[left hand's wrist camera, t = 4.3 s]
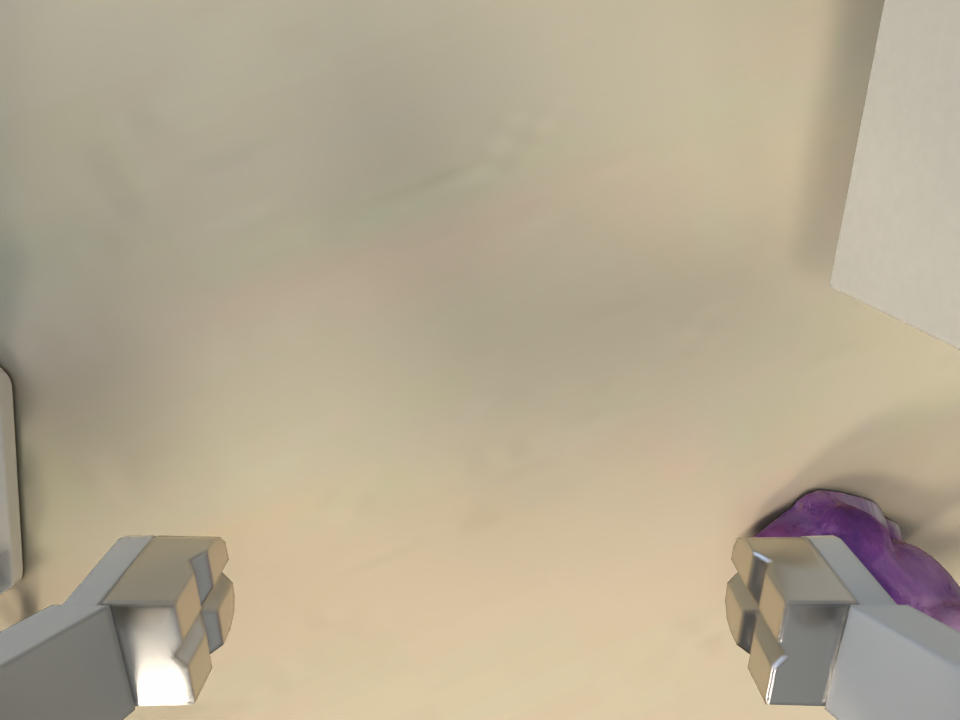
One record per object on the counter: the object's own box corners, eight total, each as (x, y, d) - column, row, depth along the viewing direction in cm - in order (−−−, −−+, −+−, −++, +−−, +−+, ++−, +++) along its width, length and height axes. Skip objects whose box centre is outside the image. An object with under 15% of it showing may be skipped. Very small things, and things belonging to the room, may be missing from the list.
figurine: (938, 536, 41) (1179, 752, 27) (803, 625, 44) (960, 866, 30) (859, 440, 39) (1077, 623, 25) (719, 540, 41) (847, 759, 27)
